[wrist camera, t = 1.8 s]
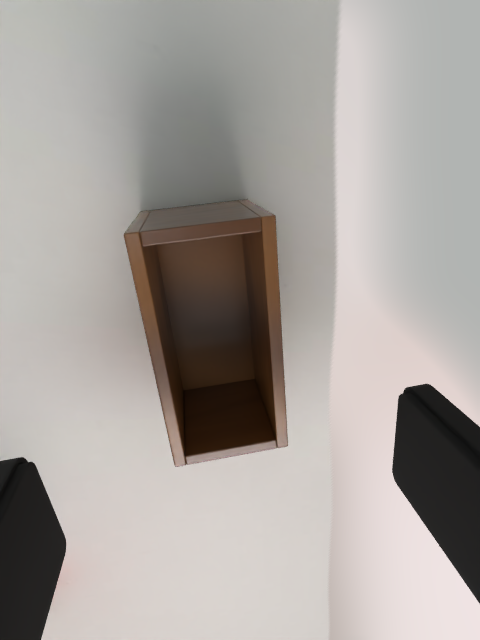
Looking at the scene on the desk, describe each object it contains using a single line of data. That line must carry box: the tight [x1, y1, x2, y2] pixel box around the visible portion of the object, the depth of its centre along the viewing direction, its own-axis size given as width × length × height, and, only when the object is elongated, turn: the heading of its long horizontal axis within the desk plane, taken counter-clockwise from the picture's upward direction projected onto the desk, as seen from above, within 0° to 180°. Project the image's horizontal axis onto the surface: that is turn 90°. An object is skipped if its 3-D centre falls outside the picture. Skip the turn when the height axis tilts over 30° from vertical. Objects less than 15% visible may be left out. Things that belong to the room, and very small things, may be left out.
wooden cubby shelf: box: [124, 199, 288, 467], centre depth 17 cm, size 10×5×6 cm, turn 6°
